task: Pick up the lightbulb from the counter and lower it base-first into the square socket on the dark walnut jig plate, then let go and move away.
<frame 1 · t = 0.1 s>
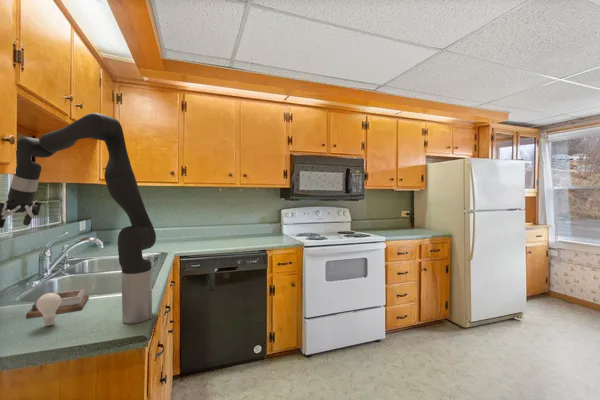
hand: (13, 226, 114), 31 cm above the counter, tool tilted 20°, fingers open, 8 cm apart
lightbulb: (49, 326, 97), on the counter
jig: (60, 307, 113), on the counter
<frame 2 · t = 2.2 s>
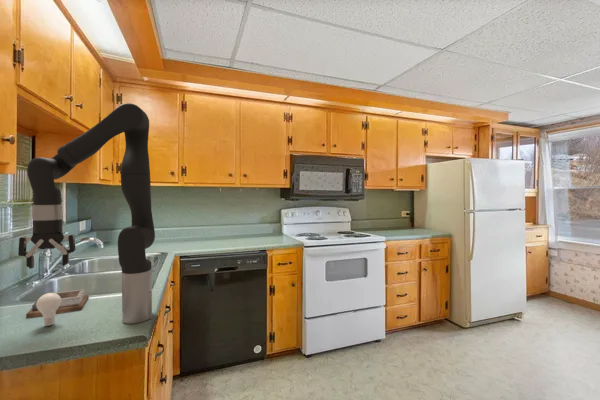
hand: (48, 266, 97), 20 cm above the counter, tool pointing down, fingers open, 8 cm apart
nothing on the counter moved.
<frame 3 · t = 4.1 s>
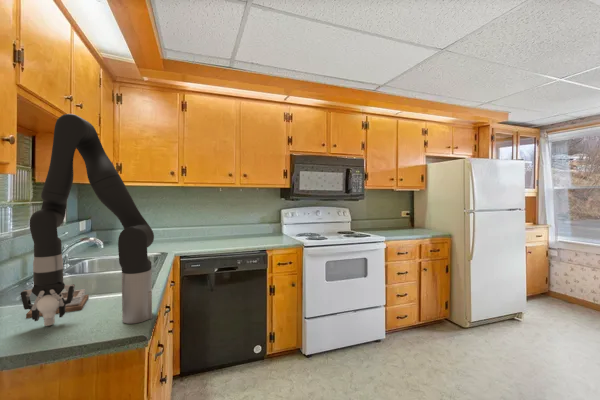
hand: (49, 318, 97), 3 cm above the counter, tool pointing down, fingers closed on lightbulb, 5 cm apart
lightbulb: (49, 326, 97), on the counter, touching gripper
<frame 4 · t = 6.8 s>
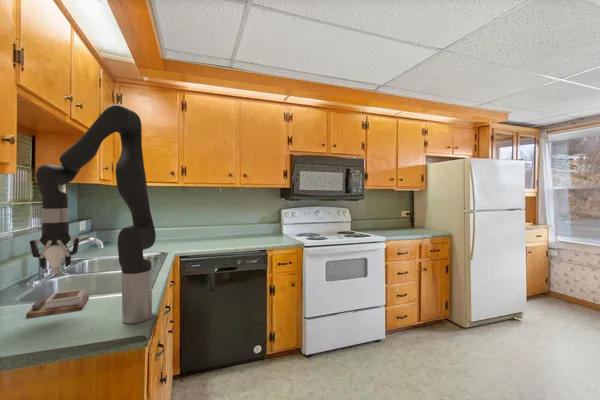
hand: (56, 267, 104), 18 cm above the counter, tool pointing down, fingers closed on lightbulb, 5 cm apart
lightbulb: (55, 274, 104), point 15 cm above the counter, touching gripper
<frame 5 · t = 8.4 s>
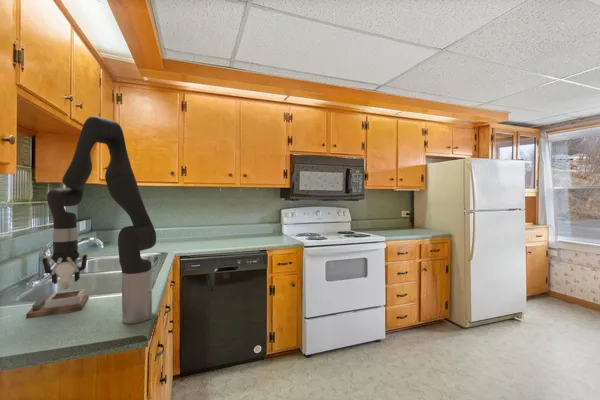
hand: (66, 282, 113), 10 cm above the counter, tool pointing down, fingers closed on lightbulb, 5 cm apart
lightbulb: (66, 289, 113), point 7 cm above the counter, touching gripper
when the fingers open (6 cm above the counter, at t = 9.7 s): lightbulb drops 2 cm, resting on jig.
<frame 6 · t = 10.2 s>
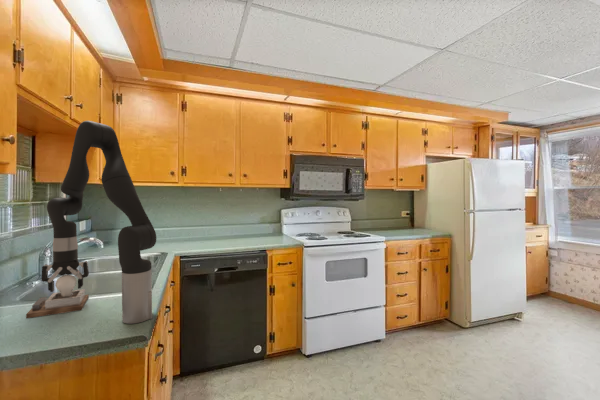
hand: (66, 289, 113), 7 cm above the counter, tool pointing down, fingers open, 8 cm apart
lightbulb: (66, 303, 113), point 1 cm above the counter, touching jig
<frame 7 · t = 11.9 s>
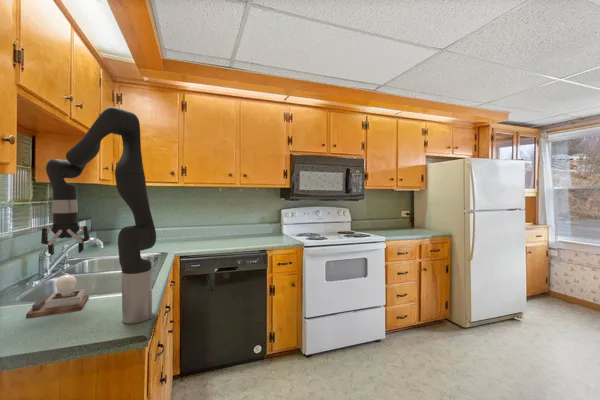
hand: (66, 253, 112), 21 cm above the counter, tool pointing down, fingers open, 8 cm apart
nothing on the counter moved.
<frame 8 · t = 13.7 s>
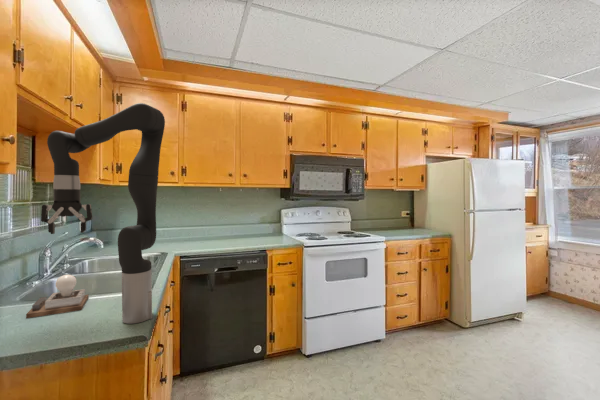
hand: (67, 233, 104), 30 cm above the counter, tool pointing down, fingers open, 8 cm apart
nothing on the counter moved.
at the end: lightbulb 0.3 cm from the target spot on the jig, point 1.3 cm above the jig's base; lightbulb tilted 0°; the gripper is holding nothing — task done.
